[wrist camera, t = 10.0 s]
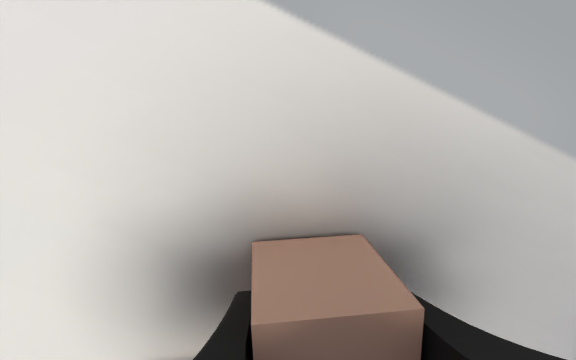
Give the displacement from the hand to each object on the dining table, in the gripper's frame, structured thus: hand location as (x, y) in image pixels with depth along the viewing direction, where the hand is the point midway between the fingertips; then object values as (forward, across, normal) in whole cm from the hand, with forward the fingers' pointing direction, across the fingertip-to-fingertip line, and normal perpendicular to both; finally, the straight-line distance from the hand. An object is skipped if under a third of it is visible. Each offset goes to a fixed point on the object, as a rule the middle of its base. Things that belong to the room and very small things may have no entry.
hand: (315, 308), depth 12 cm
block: (+1, 0, 0) cm, 1 cm away
